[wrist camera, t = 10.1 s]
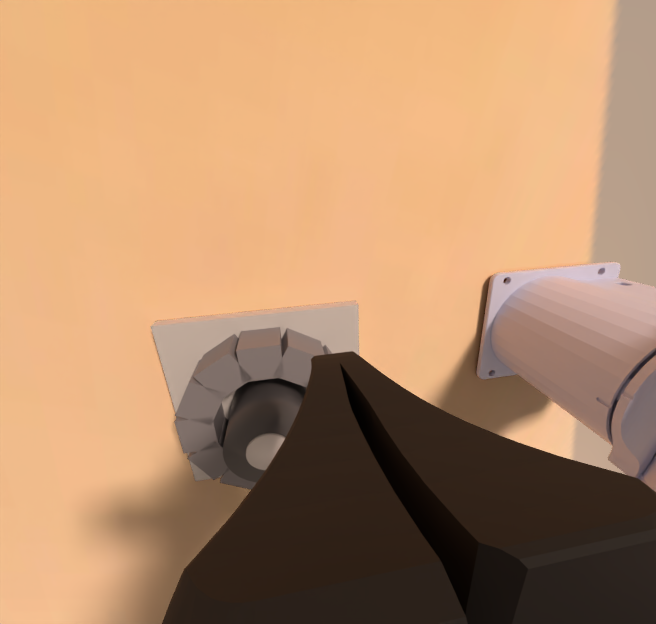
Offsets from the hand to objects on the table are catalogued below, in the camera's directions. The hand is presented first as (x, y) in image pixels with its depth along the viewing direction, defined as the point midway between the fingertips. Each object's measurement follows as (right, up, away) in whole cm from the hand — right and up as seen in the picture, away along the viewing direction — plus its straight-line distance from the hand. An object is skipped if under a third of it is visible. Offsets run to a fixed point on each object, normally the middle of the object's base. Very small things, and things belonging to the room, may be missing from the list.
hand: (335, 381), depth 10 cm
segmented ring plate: (-4, -3, +11) cm, 12 cm away
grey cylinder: (-4, -4, +11) cm, 12 cm away
